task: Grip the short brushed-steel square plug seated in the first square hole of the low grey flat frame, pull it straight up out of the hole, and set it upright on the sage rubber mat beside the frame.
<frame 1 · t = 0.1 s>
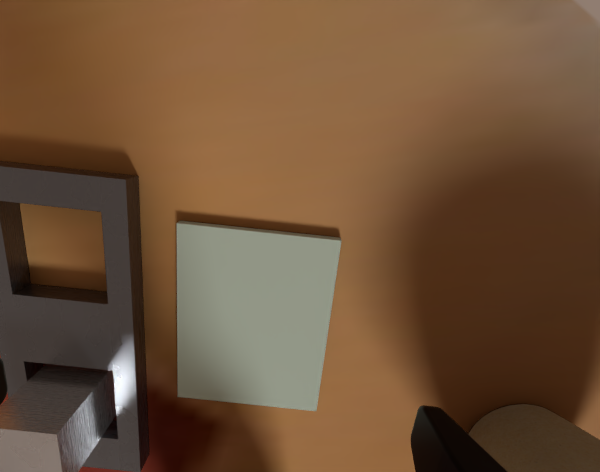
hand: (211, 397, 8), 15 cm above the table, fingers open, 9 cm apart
plant pot: (510, 438, 26), on the table
sage mat: (253, 320, 24), on the table
grey flat frame: (79, 327, 24), on the table
steel peg: (86, 385, 26), resting in grey flat frame
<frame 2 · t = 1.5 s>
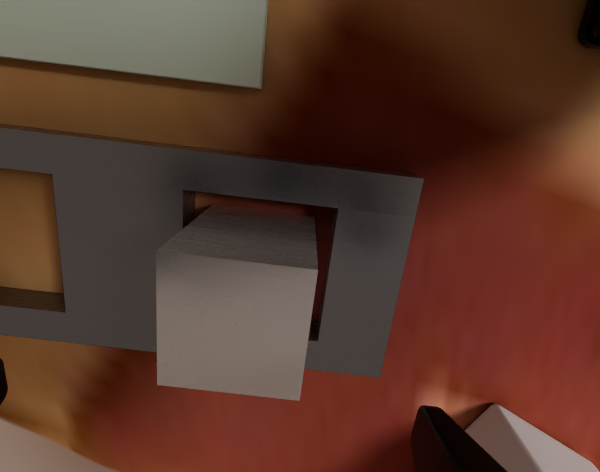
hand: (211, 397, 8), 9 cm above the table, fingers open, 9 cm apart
medicine bottle: (494, 468, 19), on the table
grey flat frame: (149, 244, 16), on the table
steel peg: (260, 256, 16), resting in grey flat frame
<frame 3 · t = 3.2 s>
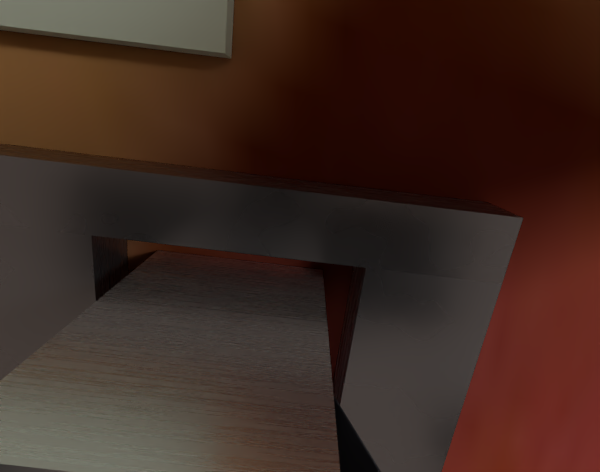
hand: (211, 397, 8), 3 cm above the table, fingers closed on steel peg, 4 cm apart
grey flat frame: (59, 311, 10), on the table
steel peg: (235, 331, 10), resting in grey flat frame, touching gripper
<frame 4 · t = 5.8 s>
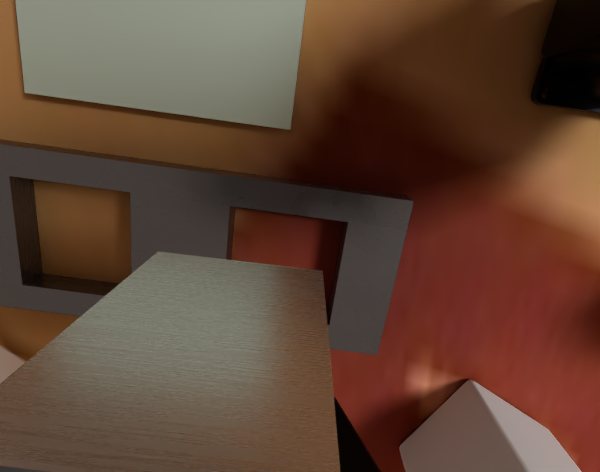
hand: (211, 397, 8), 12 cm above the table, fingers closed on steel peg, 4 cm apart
medicine bottle: (469, 434, 24), on the table
grey flat frame: (196, 246, 20), on the table
steel peg: (235, 332, 10), point 10 cm above the table, touching gripper
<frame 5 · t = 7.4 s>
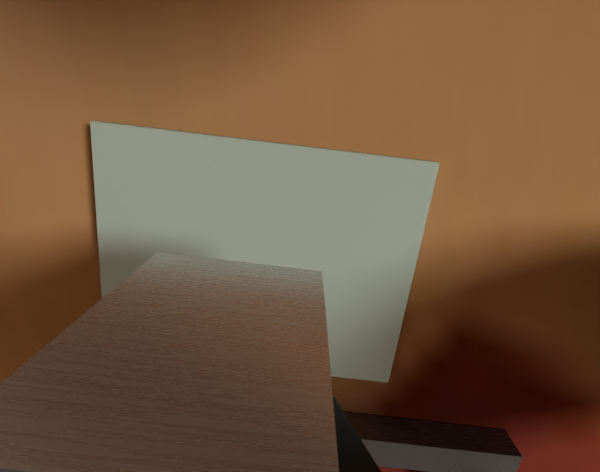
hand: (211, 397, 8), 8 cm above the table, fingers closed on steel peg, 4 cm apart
sage mat: (257, 261, 15), on the table
steel peg: (235, 332, 10), point 5 cm above the table, touching gripper
when the fingers open (4 cm above the table, at t = 8.8 s): steel peg stays where it is, resting on sage mat.
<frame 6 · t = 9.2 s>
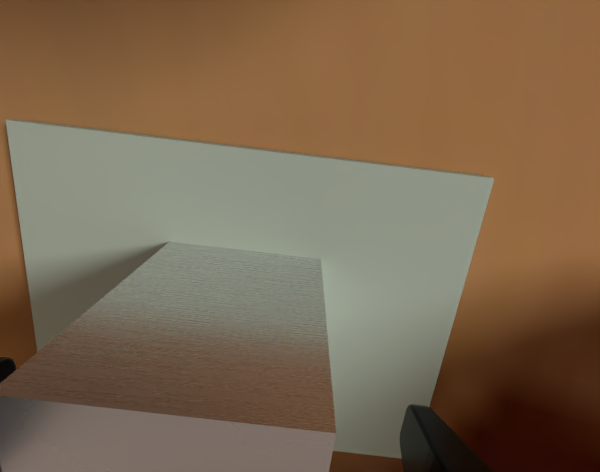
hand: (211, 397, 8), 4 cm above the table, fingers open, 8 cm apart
sage mat: (243, 305, 11), on the table
steel peg: (240, 316, 11), point 1 cm above the table, touching sage mat
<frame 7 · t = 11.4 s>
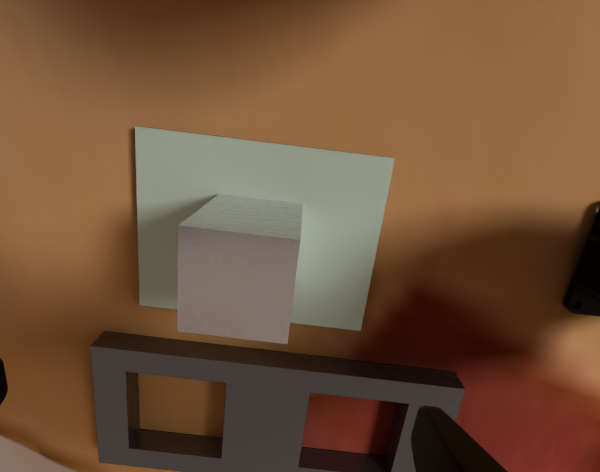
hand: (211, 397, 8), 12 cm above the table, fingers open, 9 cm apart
sage mat: (258, 234, 19), on the table
grey flat frame: (274, 409, 23), on the table
steel peg: (257, 238, 19), point 1 cm above the table, touching sage mat
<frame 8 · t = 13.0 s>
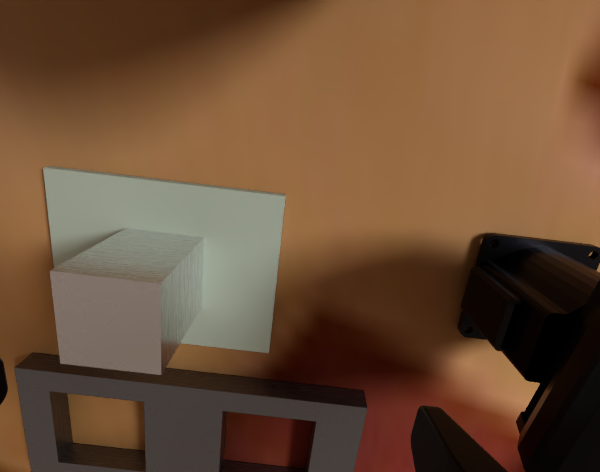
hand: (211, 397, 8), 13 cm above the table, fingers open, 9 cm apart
sage mat: (168, 263, 21), on the table
grey flat frame: (197, 424, 24), on the table
steel peg: (165, 268, 20), point 1 cm above the table, touching sage mat
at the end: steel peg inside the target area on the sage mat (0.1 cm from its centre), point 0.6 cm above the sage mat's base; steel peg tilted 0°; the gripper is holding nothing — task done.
